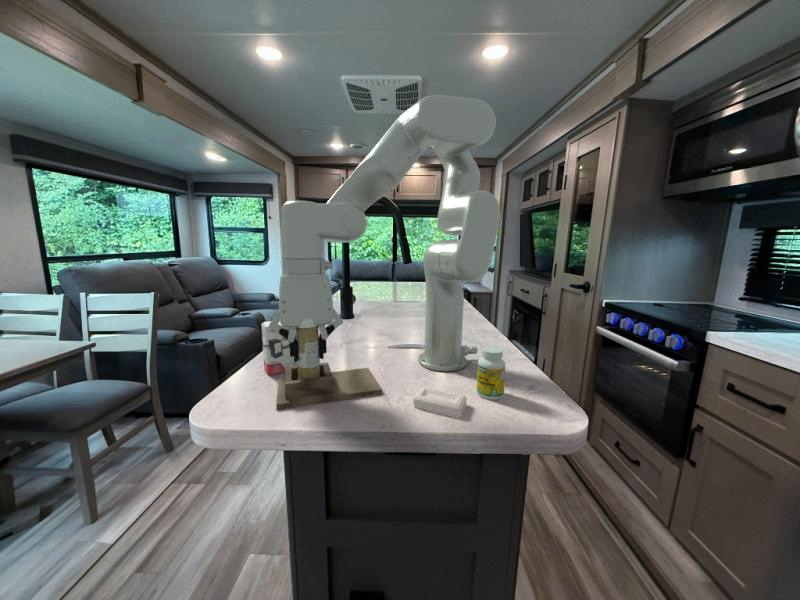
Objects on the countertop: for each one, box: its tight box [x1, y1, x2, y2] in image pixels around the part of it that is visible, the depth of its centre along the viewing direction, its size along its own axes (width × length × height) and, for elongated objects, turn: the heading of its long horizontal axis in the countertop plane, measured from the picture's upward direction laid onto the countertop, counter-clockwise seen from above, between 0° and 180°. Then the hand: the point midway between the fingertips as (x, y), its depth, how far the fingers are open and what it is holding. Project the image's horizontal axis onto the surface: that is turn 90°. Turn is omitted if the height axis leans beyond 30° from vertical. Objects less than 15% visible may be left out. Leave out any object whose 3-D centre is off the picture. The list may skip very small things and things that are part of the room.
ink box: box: [261, 320, 298, 376], centre depth 73 cm, size 8×5×12 cm, turn 123°
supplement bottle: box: [476, 346, 506, 401], centre depth 61 cm, size 5×5×10 cm
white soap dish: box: [412, 386, 467, 419], centre depth 57 cm, size 5×9×2 cm, turn 66°
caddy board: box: [275, 362, 383, 410], centre depth 64 cm, size 20×12×4 cm, turn 110°
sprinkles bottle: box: [296, 319, 321, 380], centre depth 61 cm, size 5×5×14 cm
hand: (308, 357), depth 62 cm, fingers closed on sprinkles bottle, 4 cm apart
